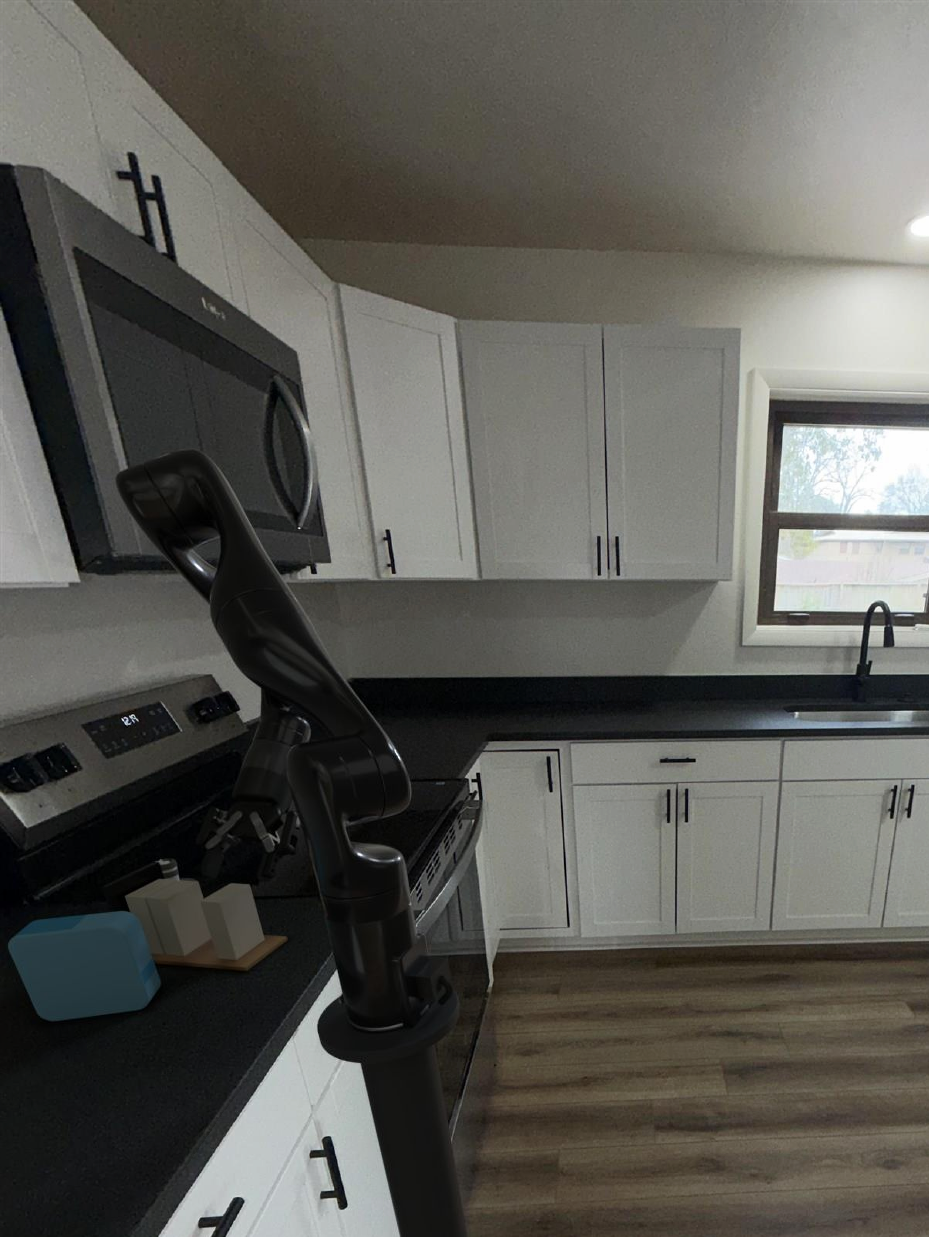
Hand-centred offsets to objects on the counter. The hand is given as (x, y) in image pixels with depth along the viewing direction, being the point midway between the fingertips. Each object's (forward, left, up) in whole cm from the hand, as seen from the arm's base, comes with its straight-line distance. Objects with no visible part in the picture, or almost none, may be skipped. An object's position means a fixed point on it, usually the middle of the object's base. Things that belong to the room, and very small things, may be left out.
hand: (235, 878), depth 100 cm
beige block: (0, +2, -10) cm, 10 cm away
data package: (+8, +17, -11) cm, 22 cm away
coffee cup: (+28, -17, -11) cm, 34 cm away
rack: (+5, +2, -11) cm, 12 cm away
